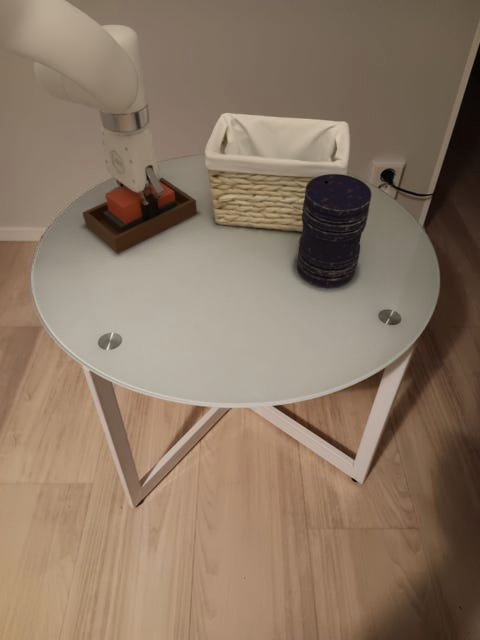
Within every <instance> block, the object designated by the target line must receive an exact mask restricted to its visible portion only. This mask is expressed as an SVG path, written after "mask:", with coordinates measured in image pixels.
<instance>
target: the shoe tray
mask: <svg viewBox="0 0 480 640" xmlns="http://www.w3.org/2000/svg"><path fill="white" fill-rule="evenodd" d="M159 181H160V182H161V183H163V184H164V185H165V186H167V187H168V188H170V189H171V190H173V191H174V193H175V200H176V201H177V206H176V207H174V208H172V209H170V210H168V211H166V212H164V213H162V214H160V215H158V216H156V217H154V218H152V219H150V220H147V221H145V222H143V223H141V224H139V225H137V226H135V227H133V228H131V229H129V230H127V231H125V232H123V233H121V232H120V231H119V230H118V229H116V228H115V227H114V226H113V225H111V224H110V223H109V222H108V221H107V220H105V218H104V214H103V212H105V211H107V210H108V205H107V201H104V202H103V203H101V204H98V205H96V206H93V207H92V208H89V209H87V210H85V211H83V212H82V217H83V220H84V224H85V227H86V228H87V229H88V230H90V231H91V232H92V233H93V234H95V236H96V237H97V238H98V239H100V240H101V241H102V242H103V243H104V244H106V245H107V246H108V247H109V248H110V249H112V250H113V251H114V252H115V253H116V254H121V253H122V252H124V251H126V250H129V249H130V248H132V247H134V246H136V245H138V244H140V243H142V242H144V241H146V240H149V239H150V238H152V237H154V236H156V235H158V234H160V233H162V232H164V231H166V230H168V229H170V228H172V227H174V226H176V225H178V224H180V223H182V222H184V221H185V220H188V219H189V218H192V217H194V216H196V215H198V212H197V200H196V199H195V198H193V197H192V196H190V195H189V194H188V193H186V192H185V191H183V190H182V189H180V188H178V187H177V186H176V185H174V184H173V183H171V182H169V181H168V180H166V179H165V178H164V177H159Z"/></svg>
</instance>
